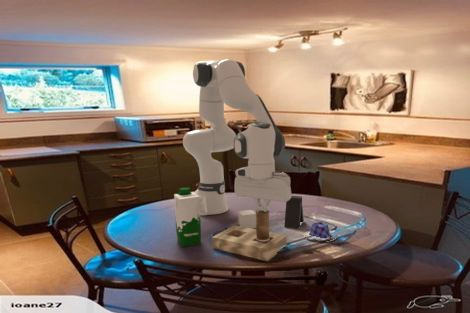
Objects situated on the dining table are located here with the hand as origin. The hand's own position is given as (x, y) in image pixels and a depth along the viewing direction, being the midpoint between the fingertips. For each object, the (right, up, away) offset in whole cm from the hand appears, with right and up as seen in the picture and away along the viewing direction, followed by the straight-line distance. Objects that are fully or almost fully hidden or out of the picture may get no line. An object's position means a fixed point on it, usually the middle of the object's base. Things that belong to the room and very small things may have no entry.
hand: (262, 211), depth 120 cm
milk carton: (-26, -14, +12) cm, 32 cm away
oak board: (-4, -14, +5) cm, 15 cm away
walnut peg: (0, -14, +2) cm, 14 cm away
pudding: (+22, -12, +13) cm, 28 cm away
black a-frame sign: (+15, -10, +27) cm, 32 cm away
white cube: (-4, -11, +27) cm, 29 cm away
